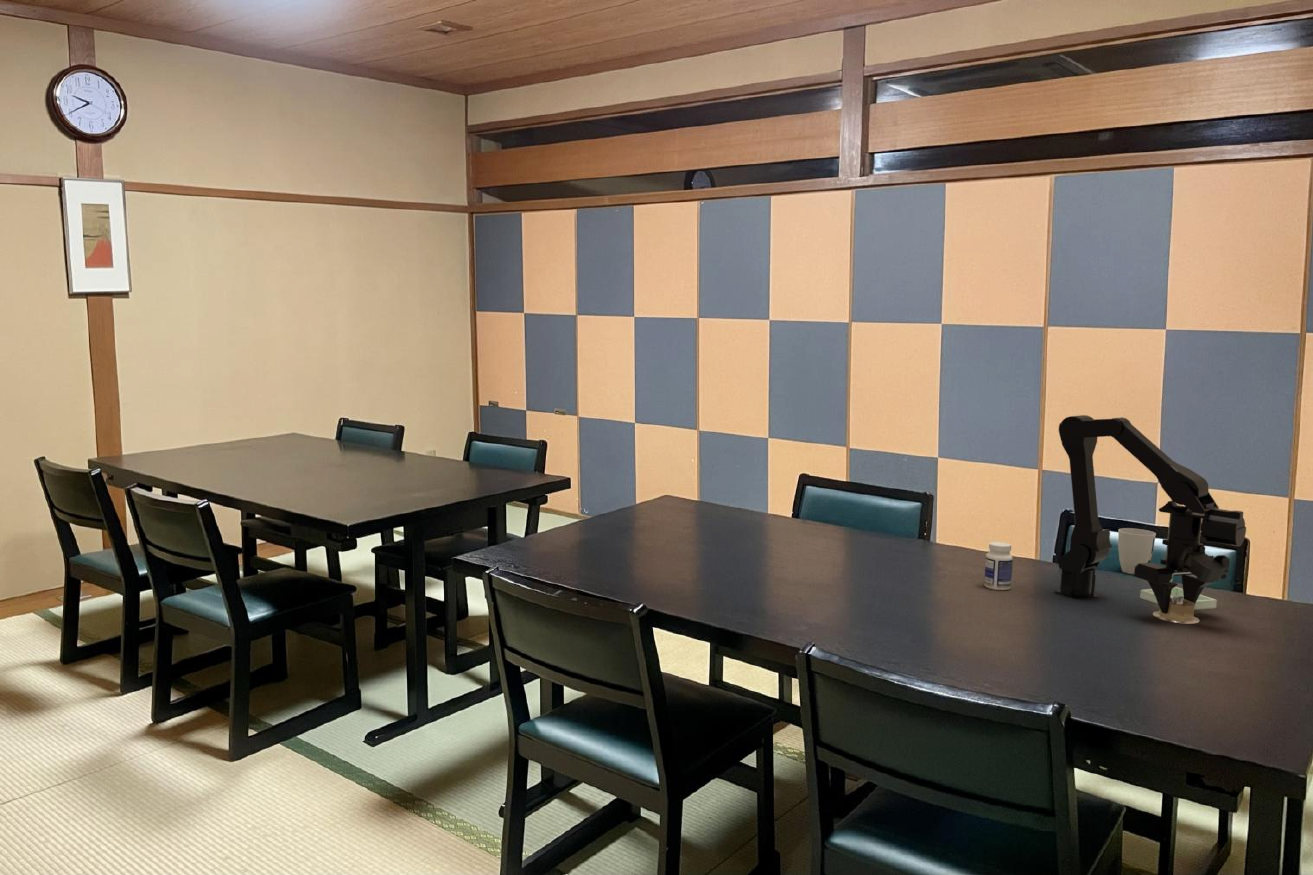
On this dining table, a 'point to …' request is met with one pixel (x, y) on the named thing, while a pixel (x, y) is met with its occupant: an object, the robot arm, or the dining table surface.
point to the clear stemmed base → (1176, 601)
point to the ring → (1179, 611)
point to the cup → (1134, 547)
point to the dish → (1200, 604)
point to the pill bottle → (998, 566)
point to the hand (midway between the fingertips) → (1176, 612)
